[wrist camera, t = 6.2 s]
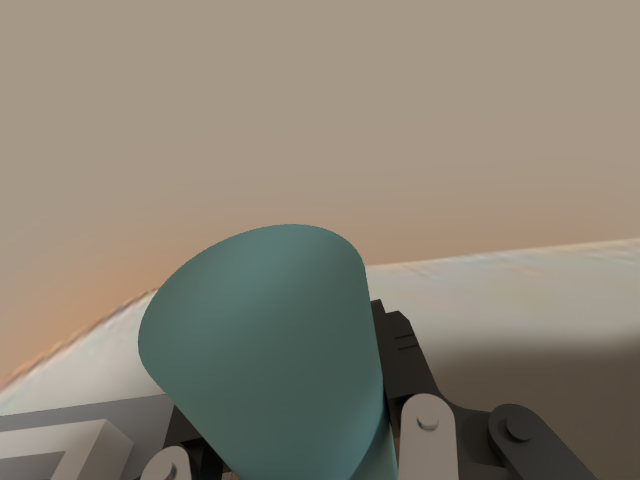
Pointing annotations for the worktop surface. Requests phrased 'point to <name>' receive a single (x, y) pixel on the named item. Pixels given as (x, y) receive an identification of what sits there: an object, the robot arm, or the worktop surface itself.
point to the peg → (275, 356)
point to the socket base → (84, 440)
